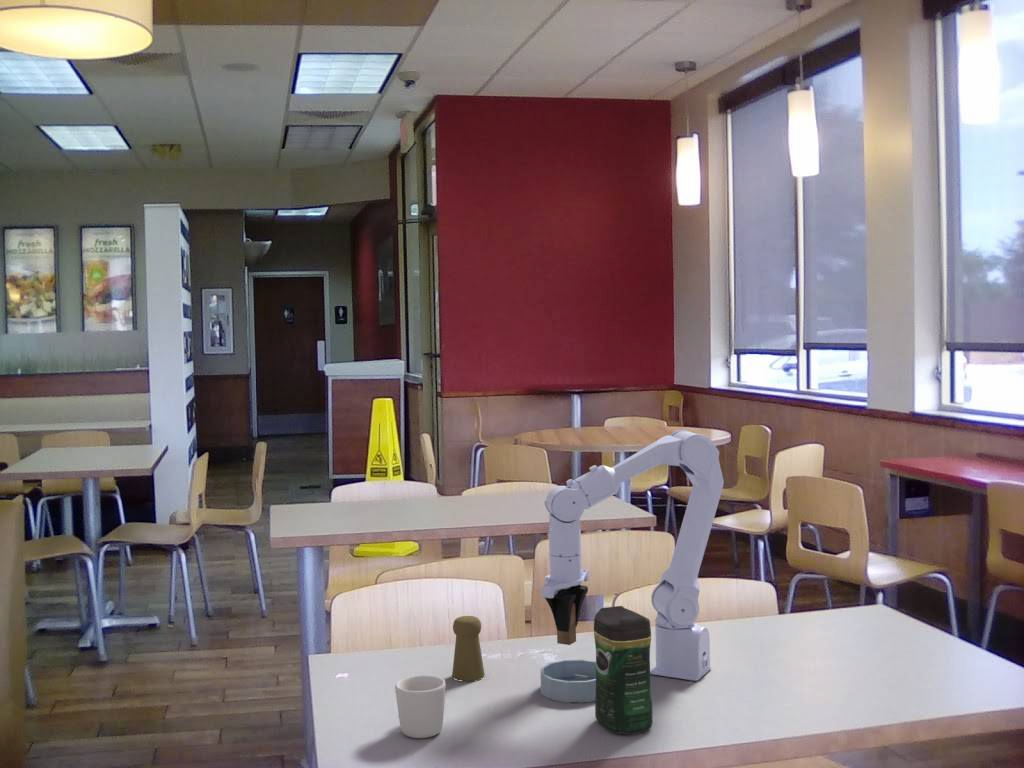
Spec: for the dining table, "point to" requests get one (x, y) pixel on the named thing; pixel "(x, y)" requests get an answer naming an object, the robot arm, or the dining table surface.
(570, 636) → the long wooden beam
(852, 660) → the dining table surface
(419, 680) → the cup
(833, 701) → the dining table surface
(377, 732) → the dining table surface
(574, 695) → the pale blue round tray
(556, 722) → the dining table surface
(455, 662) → the cork
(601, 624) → the coffee jar
